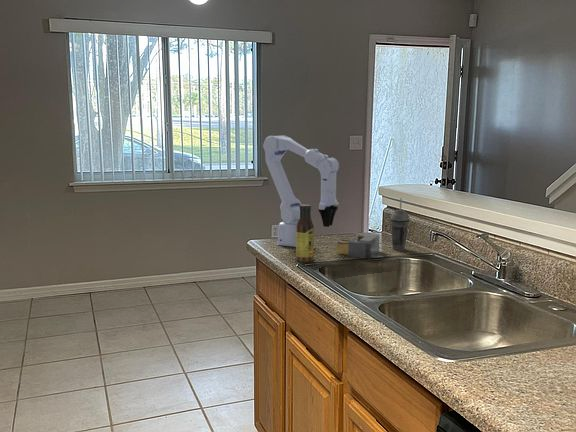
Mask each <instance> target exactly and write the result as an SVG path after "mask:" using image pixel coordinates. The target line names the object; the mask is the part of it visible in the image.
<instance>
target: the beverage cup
mask: <svg viewBox="0 0 576 432" xmlns="http://www.w3.org/2000/svg"><path fill="white" fill-rule="evenodd" d="M399 200H400V201H399V209H396V210H394V211H393V212H392V214H391V216H390V219H389V220H390V225H391V228H390V229H391V243H392V244H391V245H392V250H393V251H398V252H401V251H405V248H406V241H407V234H408V228H409V227H408V226H409V223H410V215H409V214H408V212H407V211H406V210H404V209H402V200H403V199H402V198H400V199H399Z"/></svg>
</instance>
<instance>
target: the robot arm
mask: <svg viewBox="0 0 576 432" xmlns="http://www.w3.org/2000/svg"><path fill="white" fill-rule="evenodd" d="M262 148H263V150H264V153H265V154H264V155H265V164H266V165H267V169H268V171H269V173H270V176H271V179H272V181H273V184H274V186H275V187H276V191H277V193H278V196H279V198H280V201H281V204H280V206H279V210H280V219H282V221H281V222H279V224H278V228H277V244H276V245H277V246H283V247H284V246H286V247H295V248H296V231H297V227H296V226H297V222H298V221H299V219H300V205H303V204H302V202H301V200H300V199H298V198H297V197H296V196H295V194H294V191H293V189H292V187H291V185H290V181H289V180H288V176H287V174H286V171H285V170H284V167H283V164H282V162H281V160H282V158H283V156H284V155H285V154H286V152H288V151H290V152H292V153H294V154H297V155H298V156H300V157H303V158H304V162H305V163H307V164H309V165H310V166H312V167H314V168H315V169H318V172H319V174H320V202H319V204H318V208H317V209H318V212H319V214H320V216H321V220H322V225H323V227H325V228H328V227H330V226H333V222H334V219H335V215H336V212H337V211H338V209H339V207H338V206H337V205H340V203H339V202H338V199H337V172H338V171H340V170H339V169H340V162H339V160H338V159H337V158H335V157H329V155H328V154H323V153H321V152H320V151H319V149H317V148H310V149H308V148H306V147H305V146H303V145H302V144H300V143H298V142H297V141H295V140H294V139H292V138H291V137H289V136H287V135H285V134H284V135H282V134H281V135H268V136H267V137H265V139H264V142H263V144H262Z"/></svg>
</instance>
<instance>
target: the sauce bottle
mask: <svg viewBox="0 0 576 432" xmlns="http://www.w3.org/2000/svg"><path fill="white" fill-rule="evenodd" d="M311 209H312V205H311V204H302V205H300V219H299V221H298V222H297V226H296V227H297V231H296V247H295V259H296V261H297V262H298V263H309V262H312V261H314V254H315V253H314V250H315V248H314V247H315V246H314V245H315V242H314V241H315V227H314V224H313V221H312V216H311Z"/></svg>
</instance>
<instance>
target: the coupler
mask: <svg viewBox="0 0 576 432" xmlns="http://www.w3.org/2000/svg"><path fill="white" fill-rule="evenodd" d="M380 236H381V235H380V234H377V233H368V234H367V235H359V234H358V236H357V241H356V240H353V241H349V245H348V255H347V256H348V257H350V258H359V259H360V258H361V259H367V258H368V259H369V260H370V259H371V258H373V256H375V255H376V254H377V253H379V252H380V238H381V237H380ZM368 259H367V260H368Z"/></svg>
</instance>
